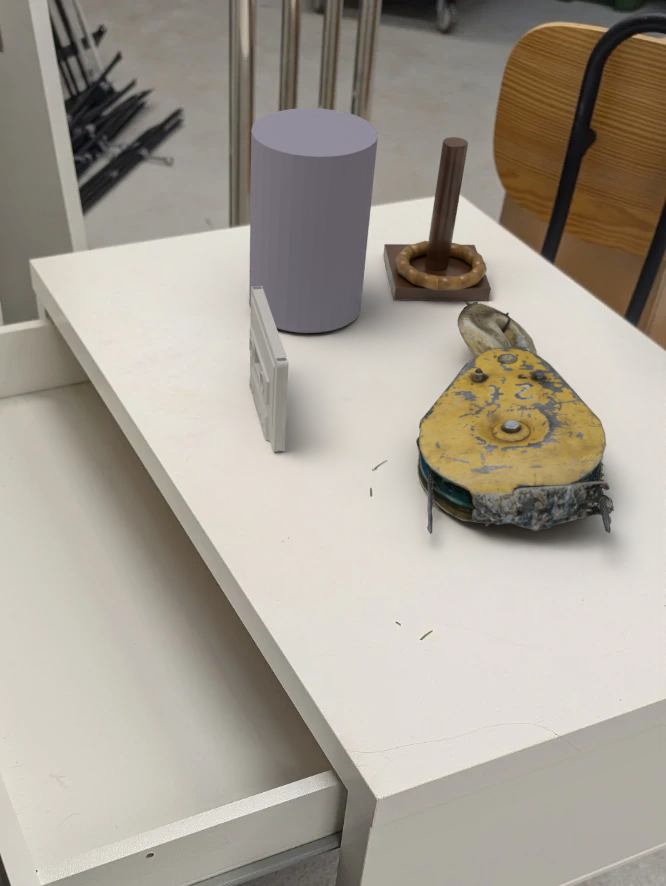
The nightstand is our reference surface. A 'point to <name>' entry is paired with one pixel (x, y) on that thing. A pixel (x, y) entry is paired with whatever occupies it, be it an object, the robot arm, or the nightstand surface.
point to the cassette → (268, 370)
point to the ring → (441, 281)
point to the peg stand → (439, 237)
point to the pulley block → (511, 436)
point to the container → (311, 215)
